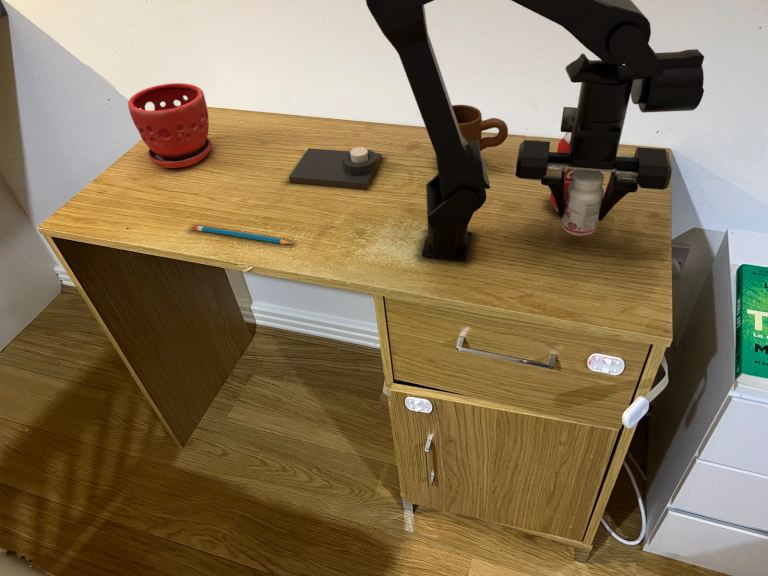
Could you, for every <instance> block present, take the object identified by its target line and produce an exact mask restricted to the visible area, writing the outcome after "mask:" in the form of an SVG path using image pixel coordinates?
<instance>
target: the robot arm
mask: <svg viewBox="0 0 768 576" xmlns="http://www.w3.org/2000/svg"><path fill="white" fill-rule="evenodd" d="M434 1H435V0H365V4H366V6H367V8H368V11H369V12H370V14H371V16H372V18H373V20H374V21H375V23H376V25H377V26H378V27H379V29H380V31H381V33H382V35H383V36H384V37H385V38H386V40H387V41H388V43H390V45H391V46H392V47H393V49H394V50H395V51H396V53H397V54H398V57H399V59H400V62H401V64H402V67H403V71H404V72H405V77H406V78H407V80H408V83H409V86H410V89H411V92H412V94H413V97H414V100H415V102H416V106H417V108H418V110H419V113H420V116H421V119H422V121H423V124H424V127H425V130H426V132H427V135H428V137H429V140H430V143H431V146H432V148H433V151H434V153H435V158H436V159H435V160H436V164H437V174H436V175H435V176H433V177H432V178H431V179H430V180H429V181H428V182H427V183H426V184H425V189H426V191H425V192H426V220H427V236H426V239H425V241H424V245H423V247H422V251H421V257H422V258H427V259H438V260H446V261H454V262H466V261H467V260H468V257H469V252H470V248H471V244H472V240H473V232H472V231H469V224H470V222H471V219H472V218H473V215H474V213H475V212H476V211H478V210H480V209H481V208H482V207H483V205H484V204H485V203H486V202H487V190H490V189H491V186H490V185H491V183H490V180H489V174H488V168H487V167H488V166H487V162H486V160H485V159H484V158H483V157H482V155H481V152H480V148H479V142H478V140H475V141H473V142H471V143H468V142H467V141H466V140H465V138H464V137H463V136H462V134H461V132H460V128H459V125H458V122H457V119H456V116H455V113H454V110H453V107H452V105H453V104H452V102H451V98H450V95H449V93H448V89H447V87H446V84H445V81H444V77H443V75H442V71H441V68H440V64H439V62H438V60H437V59H438V58H437V56H436V52H435V50H434V47H433V44H432V41H431V37H430V35H429V31H428V24H427V16H426V8H425V5H427V4H429V3H431V2H434ZM510 1H511V2H513V3H516V4H518V5H520V6H522V8H523V7H524V8H525V9H527V10H530V11H531V12H533V13H534V14H537V15H538V16H541V17H543V18H545V19H547V20H549V21H551V22H553V23H554V24H557V25H558V26H560V27H562V28H563V29H565V30H566V31H567V32H568V33H569V34H571V35H572V36H573V37H574V38H575V39H576V40H577V41H578V42H579V43H580V44H581V45H582V46H583V47H584V48H586V49H587V50H588V51H589V52H591V53H592V54H593V55H595V56H596V57H597V58H598V59H594V60H593V59H592V60H591V59H589V58H588V57H587V55H586V54H585V53H580V55H579V57H578V58H576V59H575V60H574V61H571V62H570V63H569V64H567V65H566V66H565V68H564V70H565V72H566V74H567V77H568V78H569V80H570V82H571V83H573V84H574V83H580V88H579V94H578V101H577V107H574V106H573V107H572V106H563V109H562V114H561V115H562V116H561V122H560V133H566V132H570V133H571V139H570V153H559V152H557V151H550V149H551V148H550V147H551V141H549V140H548V141H547V140H534V139H533V140H532V139H523V141H522V142H520V144H519V147H518V151H517V152H518V153H517V159H516V166H515V175H514V176H515V177H517V178H518V179H524V180H534V181H535V180H536V181H540V184H541V185H542V186H546V187H548V188H549V190H550V193H551V192H552V194H553V196H554V198H555V201H556V205H557V208H558V211H557V212H558V216H559V218H562V217H563V214H564V206H565V169H576V170H589V171H600V172H602V173H603V172H605V173H606V172H607V173H610V175H609V179H608V182H607V185H606V188H605V190H604V195H603V200H602V204H601V209H600V213H599V218H598V222H599V221H600V222H601V221H603V220H604V218H605V217H606V216H607V214H609V212H610V211H611V210H612V209H613V207H615V206H616V204H617V203H619V202H620V201H621V200H623V198H625V196H627V195H628V194H629V193H630V194H631V193H637V192H638V189H639V187H640V189H645V190H646V189H648V190H659V191H664V190H667V189H668V188H669V184H670V181H671V178H672V172H673V169H672V164H671V163H672V162H671V158H670V154H669V152H668V151H667V149H666V148H656V147H655V148H653V147H641V146H640V147H639V146H638V147H636V148H635V150H634V154H624V153H622V154H619V155H618V151H619V147H620V143H621V137H622V133H623V129H624V124H625V120H626V116H627V112H628V106H629V102H630V98H631V102H632V104H633V105H637V106H638V108H639V111H640V112H641V113H665V112H689V111H691V112H692V111H694V110H696V109H697V108H698V107H699V106H700V103H701V102H702V99H703V96H704V93H705V89H704V80H705V79H704V77H705V76H704V75H705V74H704V69H703V63H704V60H705V56H704V55H703V53H702V52H701V51H700V50H699V49H697V48H695V49H694V48H693V49H685V50H681V51H669V52H668V51H667V52H655V51H654V49H653V48H652V47H651V46H650V44H649V43H650V39H651V35H652V29H651V22H650V20H649V19H648V18H647V16H646V15H645V14H644V13H643V12H642V11H641V10H640V8H639V7H638V6H637V5H636V4H635V3H634V2H633V1H632V0H510Z"/></svg>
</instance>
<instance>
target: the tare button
mask: <svg viewBox="0 0 768 576" xmlns="http://www.w3.org/2000/svg"><path fill="white" fill-rule="evenodd" d="M367 149H368V148H366V147H362V146H359V147H354V148H352V149H351V150H349V151H350V155H351V161H352V162H354V163H362V162H366V161H367V160H368V150H369V149H368V150H367Z"/></svg>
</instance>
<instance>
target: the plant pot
mask: <svg viewBox="0 0 768 576" xmlns="http://www.w3.org/2000/svg"><path fill="white" fill-rule="evenodd" d="M184 97H186V98H187V99H185V98H184ZM175 101H178V102H180V105H176V104H175V103H174V102H175ZM149 103H152V104H153V107H154V109H153V110H148V109H147V110H146V105H147V104H149ZM161 103H165V105H164V106H162V105H161ZM127 108H128V111H129V114H130V117H131V120H132V123H133V124H134V126H135V128H136V130H137V132H138V134H139V135H140V138H141V139H142V142H143V143H144V144H145V145H146V146H147V147H148V148H149V149H148V151H147V156H148V158H149V160H150V161H151V162H152V163H153V164H155V165H157V166H159V167H163V168H170V169H173V168H174V169H176V168H185V167H189V166H191V165H194V164H197V163H198V162H200V161H202V160H203V159H205V157H206V156H208V154H209V153H210V151H211V148H212V142H211V140H210V138H209V137H208V135H209V127H210V126H209V125H210V124H209V123H210V121H209V113H208V105H207V101H206V98H205V94H204V91H203V90H202V88H200V87H199V86H197V85H194V84H191V83H183V82H173V83H164V84H158V85H153V86H150V87H147V88H145V89H142V90H140V91H138V92H136V93H135V94H133V95H132V96H131V97H130V98H129V99H128V101H127Z"/></svg>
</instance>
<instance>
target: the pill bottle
mask: <svg viewBox="0 0 768 576" xmlns="http://www.w3.org/2000/svg"><path fill="white" fill-rule="evenodd" d="M604 180H605V174H603V171H589V170H575V171H574V173H573V175H572V180H571V184H570V185H569V186H568V188H567V193H566V200H565V206H564V214H563V217H561V227H562V229H563V230H564V231H565V232H566V233H568V234H570V235H573V236H577V237H578V236H579V237H581V236H589V235H591V234H593V233H594V232H595V231H596V229H597V227H598V223H599V221H598V218H599V213H600V209H601V204H602V200H603V197H604V194H605V190H604V188H603V184H604Z"/></svg>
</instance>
